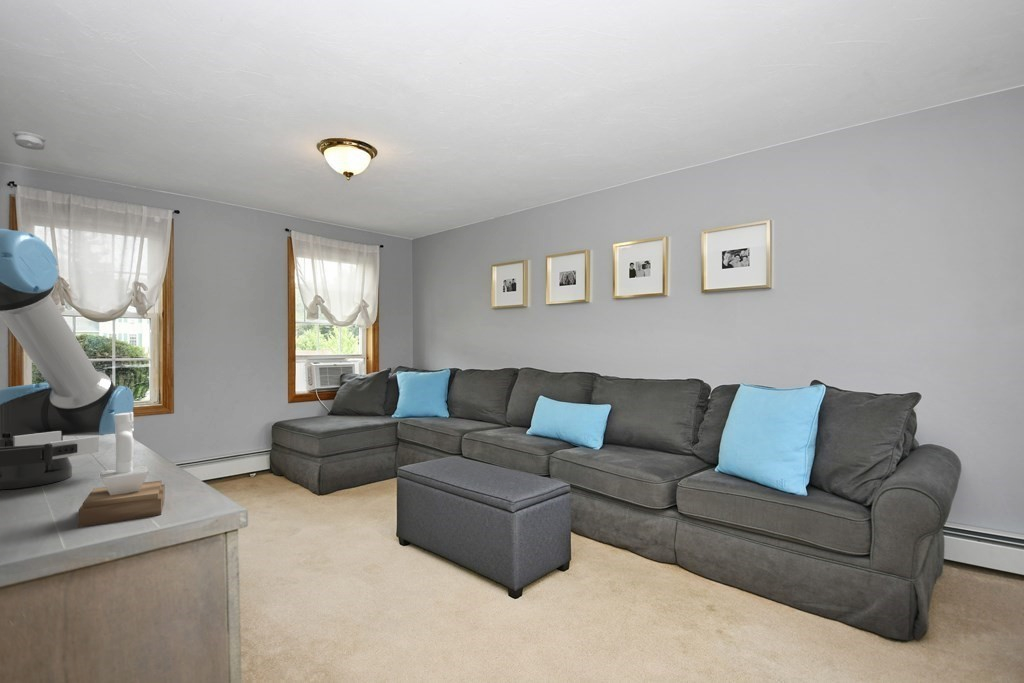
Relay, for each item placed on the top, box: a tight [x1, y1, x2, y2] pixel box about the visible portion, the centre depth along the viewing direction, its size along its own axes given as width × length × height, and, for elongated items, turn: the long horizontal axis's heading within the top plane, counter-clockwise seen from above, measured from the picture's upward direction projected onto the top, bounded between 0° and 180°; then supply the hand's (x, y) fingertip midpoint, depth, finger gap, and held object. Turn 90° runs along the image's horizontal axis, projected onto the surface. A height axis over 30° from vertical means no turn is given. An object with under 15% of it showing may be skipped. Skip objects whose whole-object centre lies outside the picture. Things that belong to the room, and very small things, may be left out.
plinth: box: [78, 480, 166, 528], centre depth 98 cm, size 12×12×4 cm
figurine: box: [99, 411, 150, 495], centre depth 98 cm, size 7×9×15 cm
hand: (78, 441), depth 92 cm, fingers open, 13 cm apart
